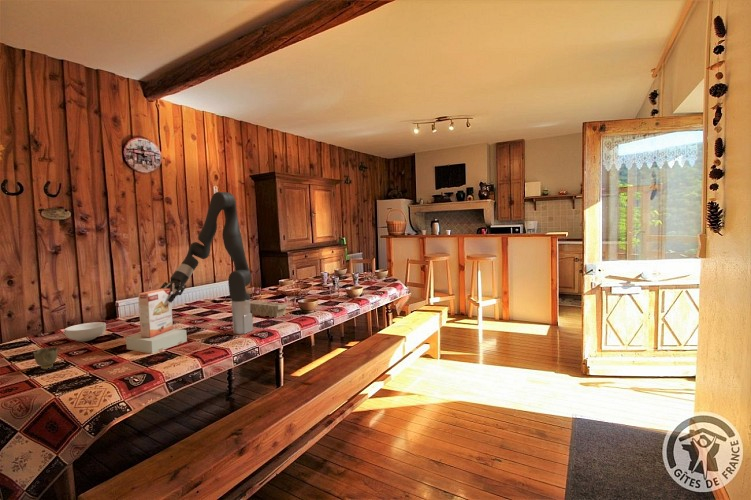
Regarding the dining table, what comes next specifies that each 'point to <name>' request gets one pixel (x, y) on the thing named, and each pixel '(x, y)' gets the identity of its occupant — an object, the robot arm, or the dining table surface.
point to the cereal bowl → (85, 331)
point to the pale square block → (156, 341)
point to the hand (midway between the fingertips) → (163, 301)
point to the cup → (46, 357)
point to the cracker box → (155, 312)
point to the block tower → (267, 308)
